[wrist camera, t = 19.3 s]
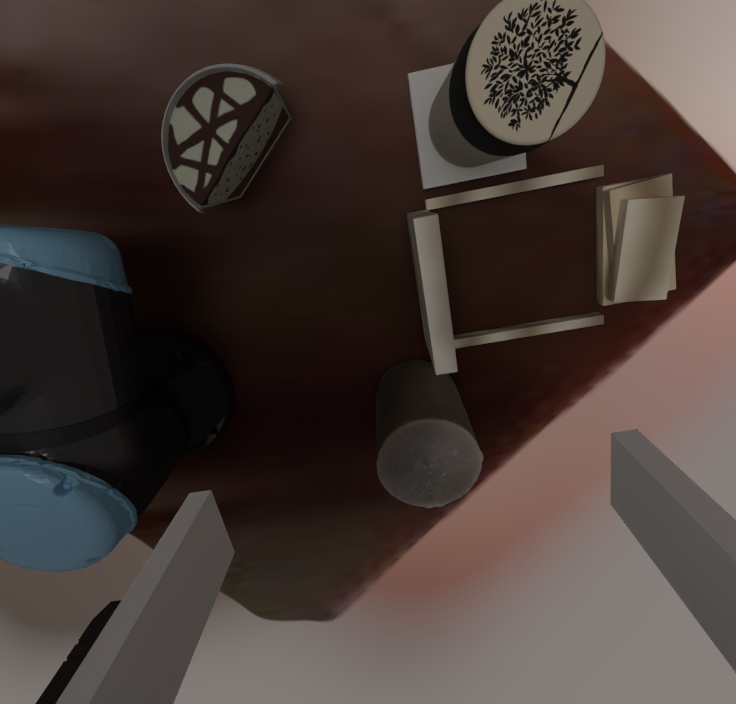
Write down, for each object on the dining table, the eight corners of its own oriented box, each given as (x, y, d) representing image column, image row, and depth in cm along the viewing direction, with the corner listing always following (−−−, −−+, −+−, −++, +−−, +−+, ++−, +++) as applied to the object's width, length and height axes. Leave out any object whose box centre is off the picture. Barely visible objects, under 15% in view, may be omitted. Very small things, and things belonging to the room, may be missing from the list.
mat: (422, 189, 43) (423, 189, 42) (407, 76, 40) (408, 73, 39) (523, 169, 42) (526, 168, 41) (516, 52, 39) (519, 48, 38)
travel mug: (411, 139, 41) (433, 99, 24) (459, 53, 38) (521, -59, 21) (480, 184, 42) (548, 176, 25) (531, 103, 39) (643, 35, 22)
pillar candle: (365, 373, 50) (359, 444, 36) (445, 348, 49) (471, 412, 35) (391, 440, 54) (394, 529, 40) (466, 418, 52) (498, 503, 38)
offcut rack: (426, 348, 49) (437, 384, 40) (404, 203, 44) (411, 206, 34) (657, 309, 47) (727, 339, 37) (664, 152, 41) (748, 139, 32)
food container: (246, 57, 40) (204, 14, 30) (300, 103, 41) (277, 76, 31) (181, 170, 43) (126, 164, 34) (233, 210, 44) (193, 214, 35)
